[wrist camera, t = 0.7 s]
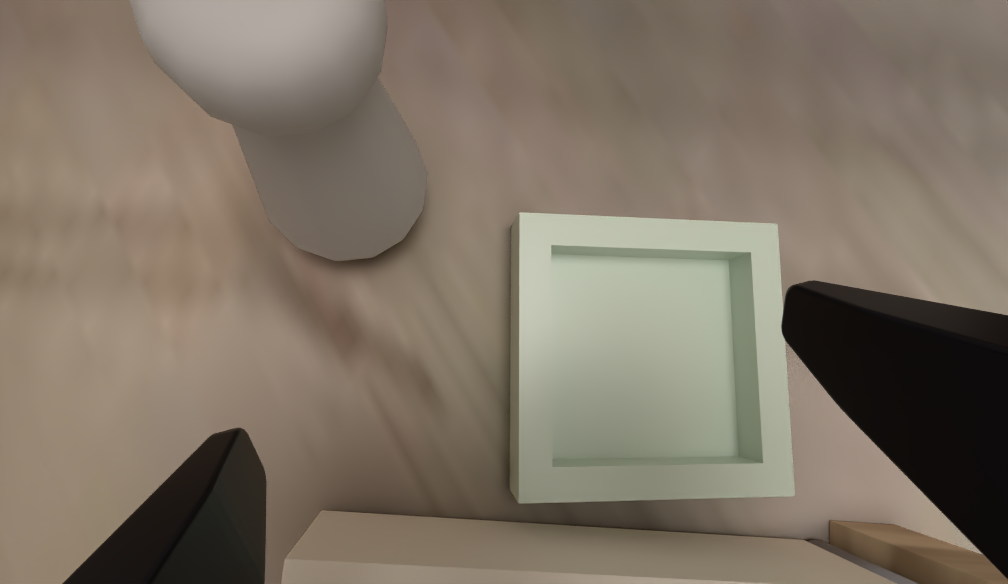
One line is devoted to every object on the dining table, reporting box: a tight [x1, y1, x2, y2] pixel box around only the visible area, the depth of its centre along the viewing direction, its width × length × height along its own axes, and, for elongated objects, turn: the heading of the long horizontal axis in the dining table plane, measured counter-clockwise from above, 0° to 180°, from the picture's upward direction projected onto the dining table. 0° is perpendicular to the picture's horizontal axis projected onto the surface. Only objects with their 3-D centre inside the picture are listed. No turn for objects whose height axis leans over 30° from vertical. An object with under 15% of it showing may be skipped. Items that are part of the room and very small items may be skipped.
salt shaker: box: [130, 0, 428, 261], centre depth 15 cm, size 6×6×13 cm
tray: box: [510, 212, 795, 504], centre depth 21 cm, size 10×10×2 cm
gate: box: [281, 510, 918, 584], centre depth 18 cm, size 2×20×5 cm, turn 85°
